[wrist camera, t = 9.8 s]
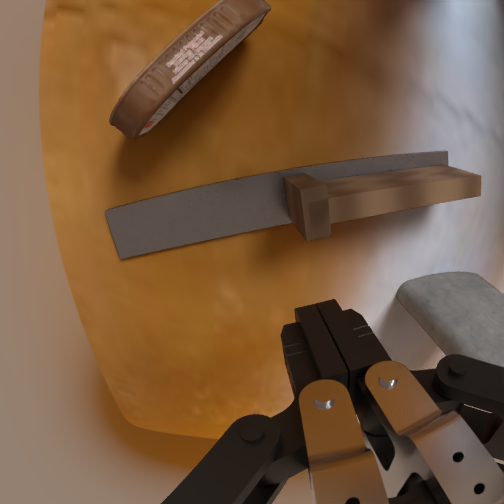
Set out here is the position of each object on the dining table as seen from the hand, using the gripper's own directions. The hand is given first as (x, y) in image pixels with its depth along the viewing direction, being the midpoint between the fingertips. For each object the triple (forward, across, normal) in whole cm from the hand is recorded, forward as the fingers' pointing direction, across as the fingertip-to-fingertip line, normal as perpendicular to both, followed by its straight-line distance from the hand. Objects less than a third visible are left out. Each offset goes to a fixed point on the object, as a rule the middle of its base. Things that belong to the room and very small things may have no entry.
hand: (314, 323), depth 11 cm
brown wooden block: (+19, -12, 0) cm, 22 cm away
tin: (+19, +3, -13) cm, 23 cm away
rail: (+19, -4, 0) cm, 19 cm away
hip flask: (+19, -23, +15) cm, 33 cm away
